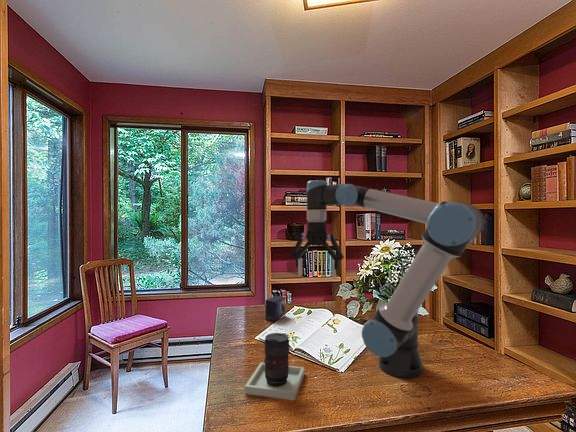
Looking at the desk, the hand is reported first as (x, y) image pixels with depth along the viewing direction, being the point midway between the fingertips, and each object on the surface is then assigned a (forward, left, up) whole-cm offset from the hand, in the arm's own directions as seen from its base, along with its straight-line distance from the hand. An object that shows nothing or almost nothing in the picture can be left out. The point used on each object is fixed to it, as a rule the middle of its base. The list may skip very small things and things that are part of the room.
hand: (316, 276), depth 125 cm
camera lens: (+7, +22, -31) cm, 39 cm away
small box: (+35, -36, -32) cm, 60 cm away
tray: (+7, +22, -32) cm, 39 cm away
